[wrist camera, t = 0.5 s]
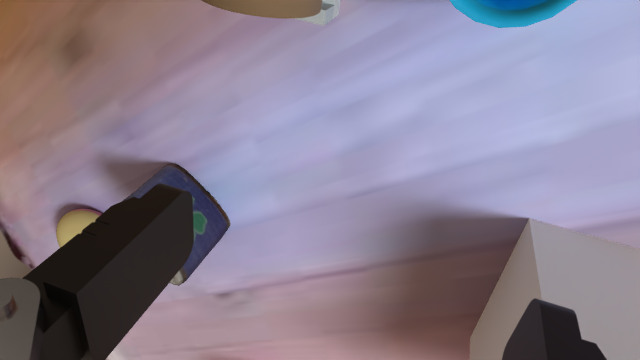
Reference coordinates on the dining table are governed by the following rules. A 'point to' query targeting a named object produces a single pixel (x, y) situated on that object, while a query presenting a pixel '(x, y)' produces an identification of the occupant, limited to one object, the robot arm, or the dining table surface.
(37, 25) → the dining table surface
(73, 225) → the donut
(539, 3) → the mug
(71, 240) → the robot arm
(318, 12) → the lane
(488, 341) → the white slotted block
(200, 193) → the flask
